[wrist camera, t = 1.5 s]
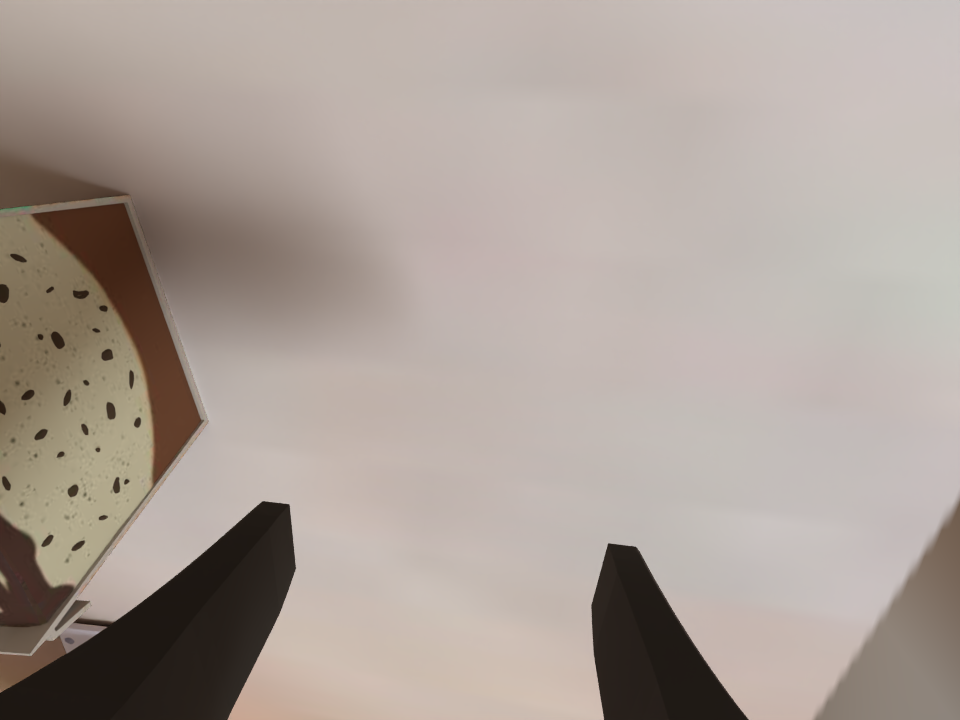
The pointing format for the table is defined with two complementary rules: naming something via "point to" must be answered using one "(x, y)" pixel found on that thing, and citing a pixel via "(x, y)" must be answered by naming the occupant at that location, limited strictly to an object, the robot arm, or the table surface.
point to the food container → (80, 403)
